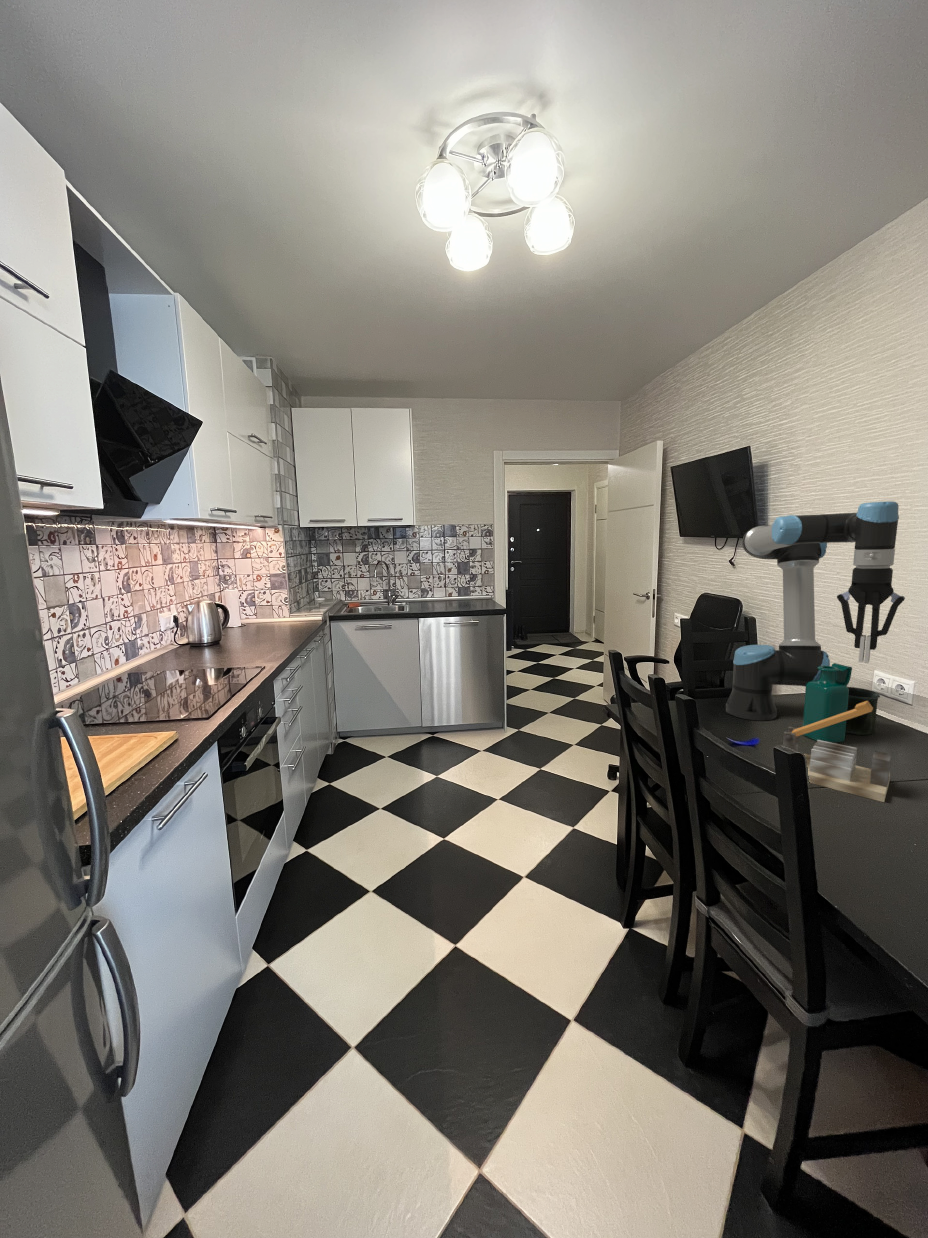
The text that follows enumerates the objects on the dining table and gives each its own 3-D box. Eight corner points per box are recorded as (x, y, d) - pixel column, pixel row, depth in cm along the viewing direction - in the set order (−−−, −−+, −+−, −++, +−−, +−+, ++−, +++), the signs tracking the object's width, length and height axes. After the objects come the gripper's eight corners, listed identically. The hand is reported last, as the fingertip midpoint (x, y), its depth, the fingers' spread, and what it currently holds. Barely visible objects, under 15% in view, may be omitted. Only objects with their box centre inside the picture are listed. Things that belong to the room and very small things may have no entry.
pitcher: (824, 745, 140) (830, 671, 137) (798, 734, 148) (803, 664, 145) (852, 741, 142) (858, 668, 138) (825, 730, 150) (830, 661, 147)
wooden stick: (793, 737, 125) (788, 730, 125) (796, 734, 127) (791, 727, 127) (871, 711, 113) (866, 703, 113) (873, 708, 115) (867, 700, 116)
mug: (838, 734, 147) (841, 696, 145) (822, 717, 160) (825, 682, 159) (883, 738, 143) (886, 699, 141) (863, 721, 157) (866, 685, 155)
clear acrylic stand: (776, 773, 124) (778, 736, 123) (788, 757, 133) (791, 722, 132) (884, 802, 110) (888, 760, 108) (889, 781, 119) (893, 742, 117)
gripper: (835, 567, 120) (828, 660, 123) (909, 568, 110) (898, 668, 114) (840, 565, 125) (833, 655, 129) (911, 566, 116) (901, 662, 119)
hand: (863, 661), depth 121 cm, fingers closed
